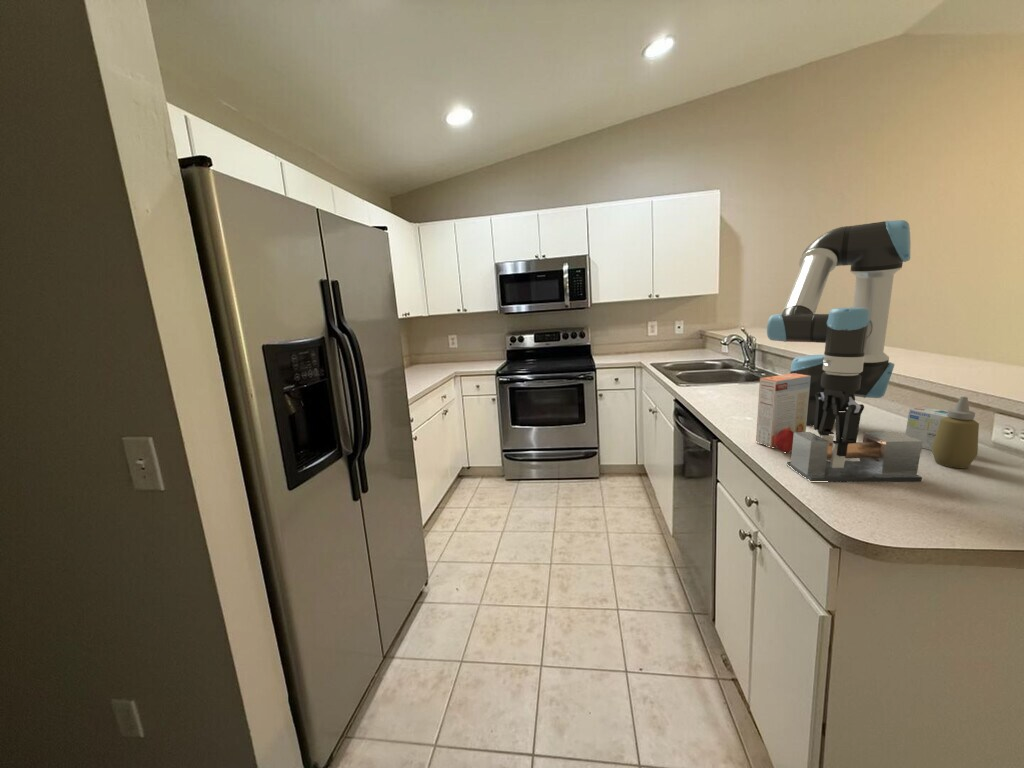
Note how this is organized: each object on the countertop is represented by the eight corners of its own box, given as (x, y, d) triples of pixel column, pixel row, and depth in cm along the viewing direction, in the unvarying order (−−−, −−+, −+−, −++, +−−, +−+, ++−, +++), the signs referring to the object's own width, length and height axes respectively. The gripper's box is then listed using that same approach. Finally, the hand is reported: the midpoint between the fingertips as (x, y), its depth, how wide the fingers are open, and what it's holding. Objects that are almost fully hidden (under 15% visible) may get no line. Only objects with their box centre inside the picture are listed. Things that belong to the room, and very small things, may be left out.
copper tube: (798, 455, 105) (800, 439, 104) (872, 454, 103) (875, 438, 102) (809, 462, 100) (811, 445, 99) (887, 461, 99) (889, 444, 98)
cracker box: (787, 436, 130) (793, 372, 126) (805, 442, 124) (812, 375, 120) (753, 442, 126) (759, 376, 121) (771, 449, 120) (777, 380, 116)
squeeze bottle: (965, 473, 100) (979, 402, 96) (922, 462, 107) (934, 396, 103) (981, 466, 103) (995, 398, 99) (938, 456, 110) (949, 392, 106)
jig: (786, 465, 108) (790, 430, 106) (886, 464, 106) (892, 428, 104) (810, 482, 99) (815, 443, 96) (921, 481, 96) (928, 442, 94)
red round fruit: (775, 455, 115) (778, 429, 113) (770, 448, 120) (773, 423, 119) (800, 457, 113) (803, 430, 111) (793, 450, 118) (796, 424, 117)
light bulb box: (965, 452, 112) (973, 414, 110) (949, 455, 110) (956, 417, 108) (918, 440, 122) (923, 405, 120) (902, 443, 120) (908, 408, 118)
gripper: (803, 367, 106) (794, 451, 111) (851, 380, 89) (838, 478, 94) (833, 366, 105) (823, 450, 110) (887, 379, 89) (872, 477, 94)
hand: (830, 463), depth 102 cm, fingers closed on copper tube, 4 cm apart
